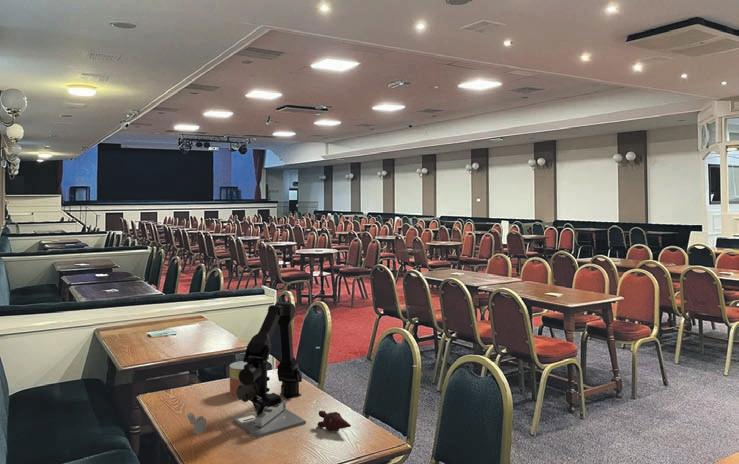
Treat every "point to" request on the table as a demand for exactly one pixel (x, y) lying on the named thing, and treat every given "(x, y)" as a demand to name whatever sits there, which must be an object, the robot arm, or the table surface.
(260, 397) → the robot arm
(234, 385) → the canned food
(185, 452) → the table surface
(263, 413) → the cable arm
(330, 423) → the icecream
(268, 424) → the equipment panel
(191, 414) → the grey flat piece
